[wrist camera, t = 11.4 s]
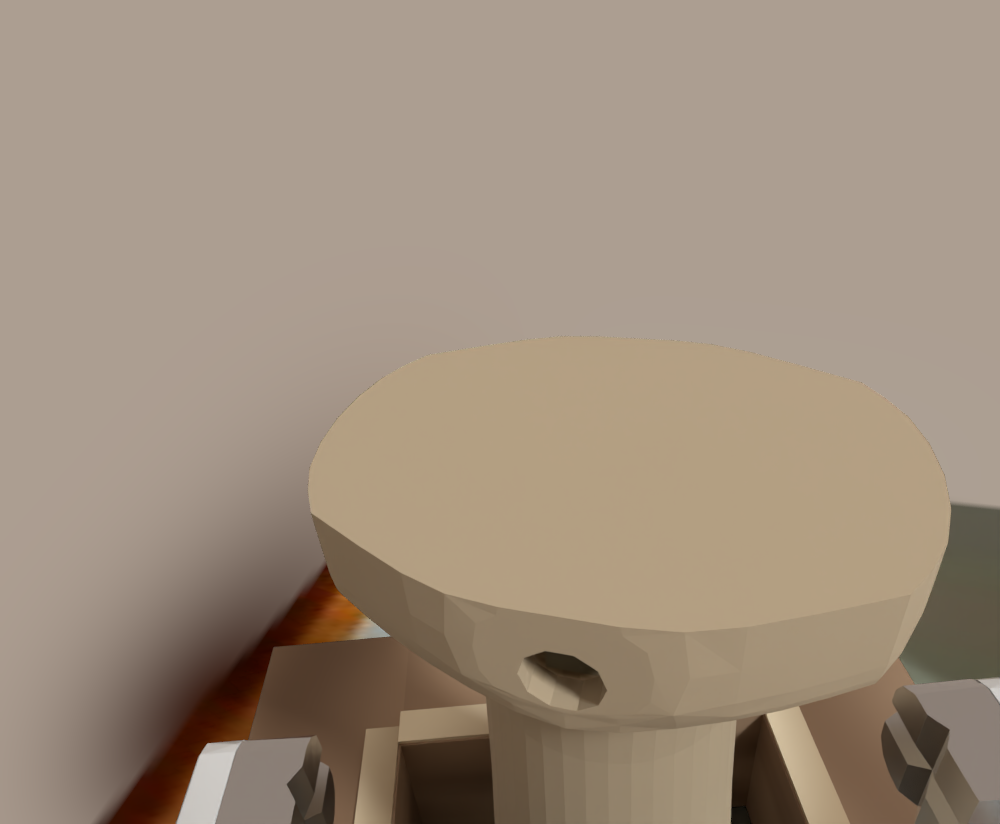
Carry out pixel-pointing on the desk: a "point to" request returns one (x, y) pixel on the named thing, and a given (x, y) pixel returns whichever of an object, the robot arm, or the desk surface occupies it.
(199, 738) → the desk surface
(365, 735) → the square wooden frame
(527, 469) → the handle
